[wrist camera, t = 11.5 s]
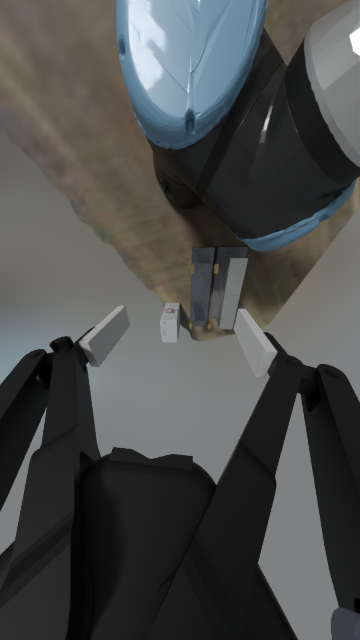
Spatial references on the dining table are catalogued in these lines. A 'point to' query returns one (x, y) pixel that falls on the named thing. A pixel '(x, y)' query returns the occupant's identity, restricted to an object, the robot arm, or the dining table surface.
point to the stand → (201, 284)
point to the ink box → (170, 323)
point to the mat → (217, 279)
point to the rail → (230, 289)
